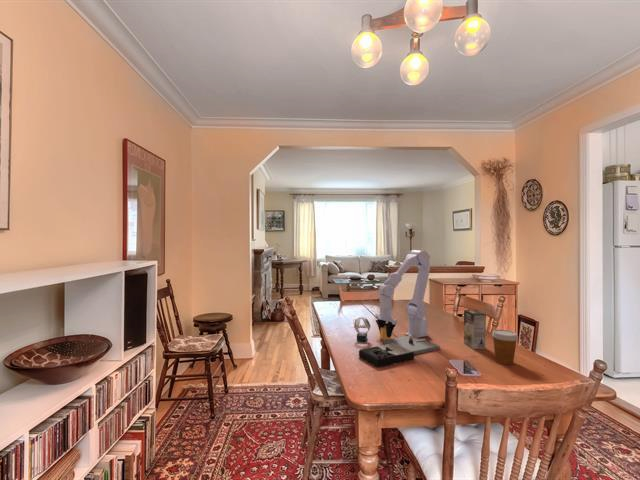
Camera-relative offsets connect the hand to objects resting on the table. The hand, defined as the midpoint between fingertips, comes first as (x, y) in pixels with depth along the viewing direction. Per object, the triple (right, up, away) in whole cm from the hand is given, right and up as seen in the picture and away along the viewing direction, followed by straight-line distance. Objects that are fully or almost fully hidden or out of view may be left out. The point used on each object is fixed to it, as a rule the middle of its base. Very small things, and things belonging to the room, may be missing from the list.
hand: (385, 335), depth 169 cm
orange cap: (0, -1, 0) cm, 1 cm away
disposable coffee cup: (+43, -2, -31) cm, 53 cm away
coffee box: (+40, -2, -11) cm, 41 cm away
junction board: (+10, -2, -12) cm, 15 cm away
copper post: (+10, 0, -12) cm, 15 cm away
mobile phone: (+24, -3, -37) cm, 44 cm away
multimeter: (-5, -3, -27) cm, 28 cm away
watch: (-12, -2, -3) cm, 12 cm away
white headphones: (-11, -2, +20) cm, 23 cm away
